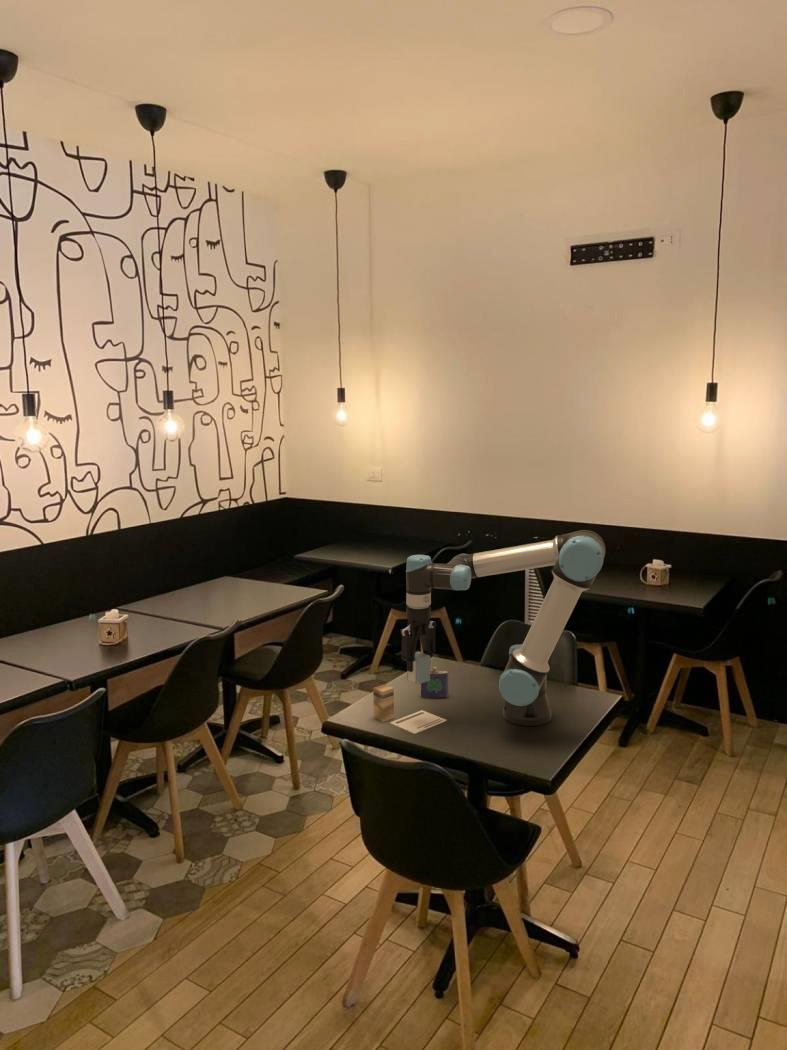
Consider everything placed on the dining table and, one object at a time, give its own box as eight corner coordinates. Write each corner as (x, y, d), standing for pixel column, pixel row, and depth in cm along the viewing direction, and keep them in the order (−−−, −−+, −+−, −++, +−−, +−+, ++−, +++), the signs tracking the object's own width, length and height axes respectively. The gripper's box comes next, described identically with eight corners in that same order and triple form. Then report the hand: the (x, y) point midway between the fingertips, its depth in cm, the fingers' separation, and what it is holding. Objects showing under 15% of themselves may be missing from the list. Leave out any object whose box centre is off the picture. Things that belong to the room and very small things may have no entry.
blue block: (430, 680, 244) (430, 655, 243) (418, 684, 241) (418, 659, 240) (418, 676, 248) (418, 651, 247) (407, 680, 245) (407, 655, 243)
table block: (394, 718, 250) (393, 687, 248) (383, 722, 247) (382, 691, 245) (384, 714, 253) (383, 684, 251) (373, 718, 250) (373, 687, 248)
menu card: (446, 720, 247) (446, 719, 247) (414, 734, 238) (414, 733, 238) (421, 711, 255) (421, 710, 255) (390, 723, 246) (390, 722, 246)
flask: (448, 695, 268) (448, 665, 266) (448, 698, 265) (448, 668, 263) (421, 695, 268) (420, 665, 267) (420, 698, 265) (420, 668, 264)
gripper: (405, 613, 232) (406, 689, 236) (447, 602, 244) (447, 674, 248) (388, 608, 237) (389, 682, 241) (430, 598, 249) (430, 668, 253)
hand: (418, 678), depth 244 cm, fingers closed on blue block, 5 cm apart
